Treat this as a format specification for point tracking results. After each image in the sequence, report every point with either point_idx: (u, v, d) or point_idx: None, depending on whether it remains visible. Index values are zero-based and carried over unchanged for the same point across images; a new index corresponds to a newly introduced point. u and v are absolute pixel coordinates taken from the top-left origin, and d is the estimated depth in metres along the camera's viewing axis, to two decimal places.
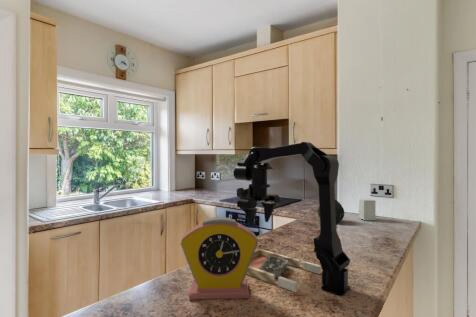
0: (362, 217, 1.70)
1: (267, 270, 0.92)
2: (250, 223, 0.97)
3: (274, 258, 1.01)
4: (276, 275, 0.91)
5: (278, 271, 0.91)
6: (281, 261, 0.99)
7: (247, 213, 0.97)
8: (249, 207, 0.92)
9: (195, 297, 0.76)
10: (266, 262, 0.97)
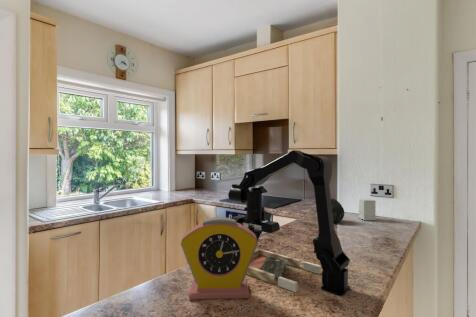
0: (362, 217, 1.70)
1: (268, 270, 0.92)
2: None
3: (273, 258, 1.01)
4: (277, 275, 0.91)
5: (279, 271, 0.91)
6: (280, 261, 1.00)
7: None
8: None
9: (195, 297, 0.76)
10: (266, 262, 0.97)
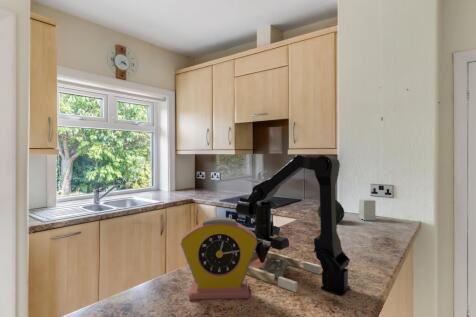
0: (362, 217, 1.70)
1: (269, 271, 0.92)
2: None
3: (274, 258, 1.01)
4: (279, 275, 0.90)
5: (280, 271, 0.91)
6: (281, 261, 0.99)
7: None
8: None
9: (195, 297, 0.76)
10: (267, 263, 0.97)
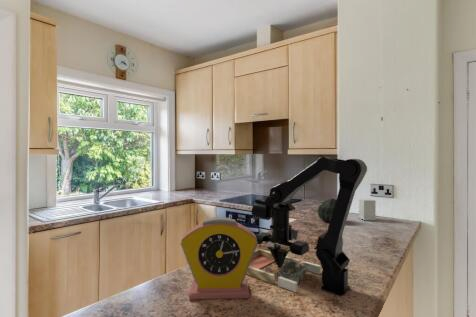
0: (362, 217, 1.70)
1: (285, 275, 0.88)
2: None
3: (294, 263, 0.96)
4: None
5: (296, 277, 0.86)
6: (301, 267, 0.94)
7: None
8: None
9: (195, 297, 0.76)
10: (284, 267, 0.93)
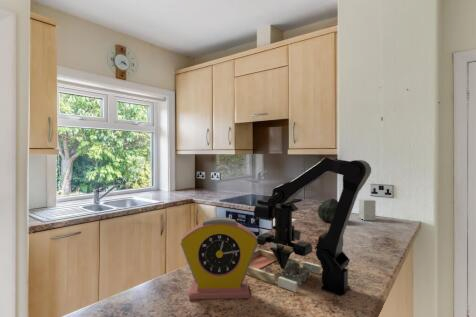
0: (362, 217, 1.70)
1: (287, 277, 0.87)
2: None
3: (297, 264, 0.95)
4: None
5: (298, 279, 0.85)
6: (304, 268, 0.93)
7: None
8: None
9: (195, 297, 0.76)
10: (287, 268, 0.92)
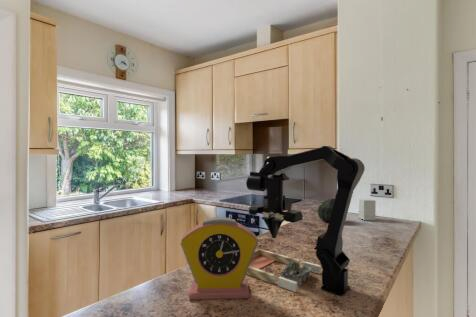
0: (362, 217, 1.70)
1: (287, 277, 0.87)
2: None
3: (297, 264, 0.95)
4: None
5: (298, 279, 0.85)
6: (304, 268, 0.93)
7: None
8: None
9: (195, 297, 0.76)
10: (287, 268, 0.92)
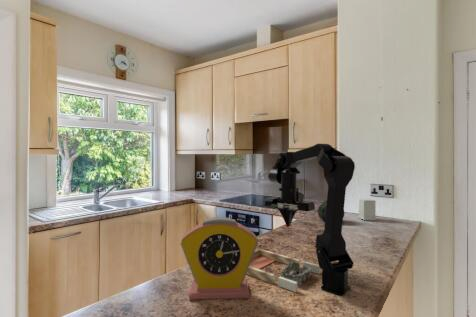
0: (362, 217, 1.70)
1: (287, 277, 0.87)
2: None
3: (297, 264, 0.95)
4: None
5: (298, 279, 0.85)
6: (304, 268, 0.93)
7: None
8: None
9: (195, 297, 0.76)
10: (287, 268, 0.92)
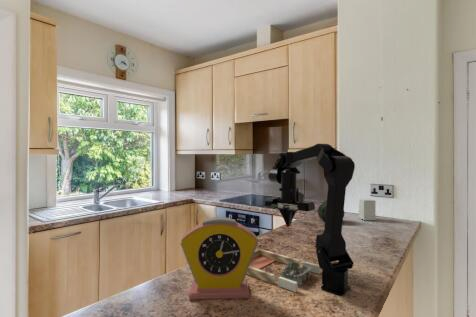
0: (362, 217, 1.70)
1: (287, 277, 0.87)
2: None
3: (296, 264, 0.95)
4: None
5: (299, 279, 0.85)
6: (304, 268, 0.93)
7: None
8: None
9: (195, 297, 0.76)
10: (287, 268, 0.92)
